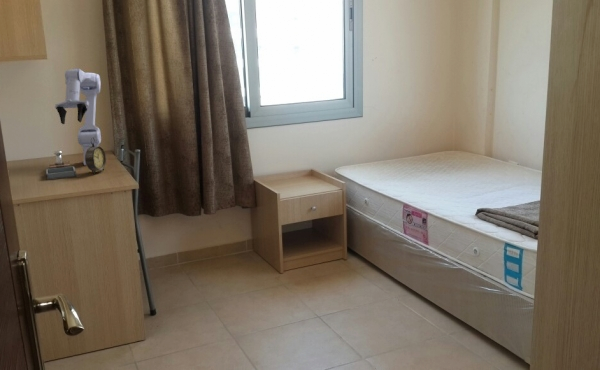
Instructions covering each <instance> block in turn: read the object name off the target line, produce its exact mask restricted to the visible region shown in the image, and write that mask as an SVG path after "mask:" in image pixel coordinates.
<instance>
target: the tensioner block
mask: <svg viewBox="0 0 600 370" xmlns="http://www.w3.org/2000/svg"><path fill="white" fill-rule="evenodd" d="M63 167H71V163H70V161H69V160H67V161H62V165H57V162H49V163H48V169H54V168H63Z"/></svg>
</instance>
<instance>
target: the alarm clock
mask: <svg viewBox="0 0 600 370" xmlns="http://www.w3.org/2000/svg"><path fill="white" fill-rule="evenodd" d="M92 138H93V137H92ZM92 138H91V140H92ZM93 139H94V138H93ZM94 143H95V140H94ZM94 143H92V142H91V144H92V147H89V148H88V149H87V151H86V154H85V161H86V165H85V166H86V167H87V168H88V169H89V170H90V171H91V172H92V174H93V175H95V173H96V171H99V172H100V171H102V170H103V171H104V168H105V166H106V162H107V161H106V160H107V158H106V152H105V149H104V148H103V147H102V146H99V145H98V146H94Z"/></svg>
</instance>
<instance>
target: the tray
mask: <svg viewBox="0 0 600 370" xmlns="http://www.w3.org/2000/svg"><path fill="white" fill-rule="evenodd" d="M45 171H46V179H47V181H48V180H57V179H66V178H67V179H68V178H74V177H75V178H76V177H77V172H76V168H75V166H74V165H73V166H70V167H63V168H54V169H50V168H46V169H45Z"/></svg>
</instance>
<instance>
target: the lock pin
mask: <svg viewBox="0 0 600 370" xmlns="http://www.w3.org/2000/svg"><path fill="white" fill-rule="evenodd" d="M53 154H54V155H55V161H56V162H55V163H57V165H62V162H63V158H62V154H63V151H62V150H56V151H54V152H53Z"/></svg>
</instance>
